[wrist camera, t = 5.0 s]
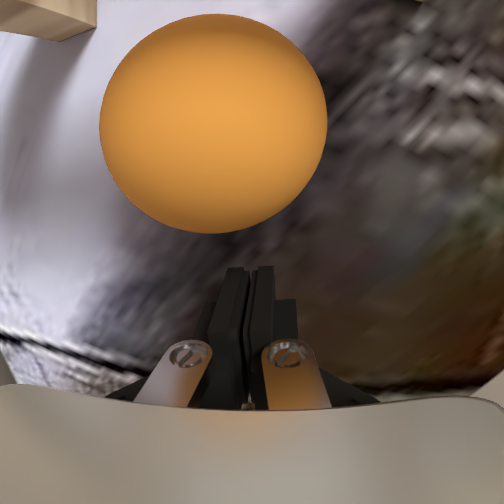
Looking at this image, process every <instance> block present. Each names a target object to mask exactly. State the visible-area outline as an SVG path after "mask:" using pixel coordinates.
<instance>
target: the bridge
mask: <svg viewBox="0 0 504 504" xmlns="http://www.w3.org/2000/svg"><path fill="white" fill-rule="evenodd" d="M416 1H421V2H424V1H425V0H416ZM96 14H97V0H0V31H4V32H10V33H16V34H22V35H28V36H33V37H38V38H43V39H47V40H52V41H56V42H61V41H63V40H65V39H67V38H70V37H72V36H75V35H77V34H79V33H82V32H84V31H87V30H90V29H92V28H95V27H96Z"/></svg>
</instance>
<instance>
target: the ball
mask: <svg viewBox="0 0 504 504" xmlns="http://www.w3.org/2000/svg"><path fill="white" fill-rule="evenodd" d="M99 130H100V141H101V146H102V150H103V155H104V159H105V161H106V164H107V167H108V169H109V171H110V173H111V175H112V177H113V179H114V181H115V182H116V184H117V185H118V186H119V188H120V189H121V191H122V192H123V193H124V194H125V196H126V197H127V198H128V199H129V200H130V201H131V202H132V203H133V204H134V205H135V206H136V207H138V208H139V209H140V210H141V211H143V212H144V213H146V214H147V215H148V216H150V217H152V218H153V219H155V220H157V221H159V222H161V223H163V224H166V225H168V226H171V227H174V228H177V229H181V230H184V231H190V232H195V233H225V232H232V231H237V230H242V229H245V228H248V227H251V226H254V225H256V224H258V223H260V222H263V221H265V220H266V219H268V218H270V217H271V216H273V215H275V214H276V213H278V212H280V211H281V210H282V209H283V208H285V207H286V206H287V205H289V204H290V203H291V202H292V201H293V200H294V199H295V198H296V197H297V196H298V195H299V193H300V192H301V191H302V190H303V188H304V187H305V186H306V185H307V183H308V182H309V180H310V179H311V177H312V175H313V174H314V172H315V170H316V168H317V166H318V164H319V161H320V159H321V156H322V152H323V148H324V145H325V141H326V134H327V108H326V103H325V97H324V93H323V90H322V87H321V84H320V81H319V79H318V77H317V75H316V73H315V71H314V69H313V67H312V66H311V64H310V63H309V62H308V60H307V59H306V57H305V56H304V55H303V53H302V52H301V51H300V50H299V49H298V48H297V47H296V46H295V45H294V44H293V43H292V42H291V41H290V40H289V39H287V38H286V37H285V36H283V35H282V34H281V33H279V32H278V31H276V30H274V29H272V28H271V27H269V26H267V25H265V24H262V23H260V22H257V21H255V20H252V19H249V18H245V17H240V16H236V15H227V14H204V15H197V16H192V17H187V18H183V19H181V20H178V21H175V22H172V23H169V24H167V25H165V26H164V27H162V28H160V29H158V30H156V31H154V32H152V33H151V34H150V35H148V36H147V37H145V38H144V39H143V40H141V41H140V42H139V43H138V44H137V45H136V46H135V47H133V48H132V49H131V50H130V51H129V52H128V54H127V55H126V56H125V57H124V59H123V60H122V61H121V63H120V64H119V65H118V67H117V68H116V70H115V72H114V74H113V75H112V77H111V79H110V81H109V83H108V86H107V89H106V91H105V94H104V98H103V102H102V107H101V112H100V124H99Z"/></svg>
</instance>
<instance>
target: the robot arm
mask: <svg viewBox="0 0 504 504" xmlns="http://www.w3.org/2000/svg"><path fill="white" fill-rule="evenodd" d="M249 387H250V393H251V401H252V403H255V409H256V410H241V406H242V403H247V402H248V395H249ZM0 504H504V408H502V407H501V406H500V405H498V404H497V403H494V402H493V401H490V400H486V399H482V398H477V397H468V396H432V397H421V398H414V399H407V400H399V401H390V402H380V401H378V400H377V399H376V398H374V397H372V396H370V395H369V394H367V393H365V392H363V391H361V390H359V389H357V388H355V387H354V386H352V385H350V384H348V383H346V382H344V381H342V380H341V379H339V378H337V377H335V376H333V375H332V374H330V373H328V372H326V371H324V370H323V369H321V368H319V367H318V365H317V362H316V359H315V357H314V354H313V351H312V349H311V348H310V346H309V345H307V344H306V343H305V342H302V341H300V340H298V328H297V314H296V300H295V299H287V300H276V296H275V280H274V267H273V266H260V267H258V270H257V271H253V274H252V279H251V285H250V275H249V271H244V269H243V267H237V268H228V269H227V272H226V275H225V278H224V281H223V284H222V287H221V291H220V294H219V297H218V300H217V302H207V303H206V304H205V307H204V310H203V312H202V315H201V318H200V320H199V323H198V326H197V329H196V331H195V334H194V337H193V339H192V340H187V341H182V342H179V343H177V344H175V345H173V346H172V347H170V348H169V349H168V350H167V351H166V353H165V354H164V356H163V357H162V359H161V360H160V362H159V363H158V365H157V366H156V368H155V369H154V371H153V372H152V374H151V375H149V376H147V377H145V378H143V379H140V380H138V381H136V382H134V383H132V384H130V385H128V386H126V387H124V388H122V389H119V390H117V391H115V392H113V393H111V394H109V395H108V396H106V397H99V396H93V395H88V394H82V393H77V392H72V391H67V390H62V389H56V388H51V387H46V386H41V385H32V384H12V385H4V386H0Z"/></svg>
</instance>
